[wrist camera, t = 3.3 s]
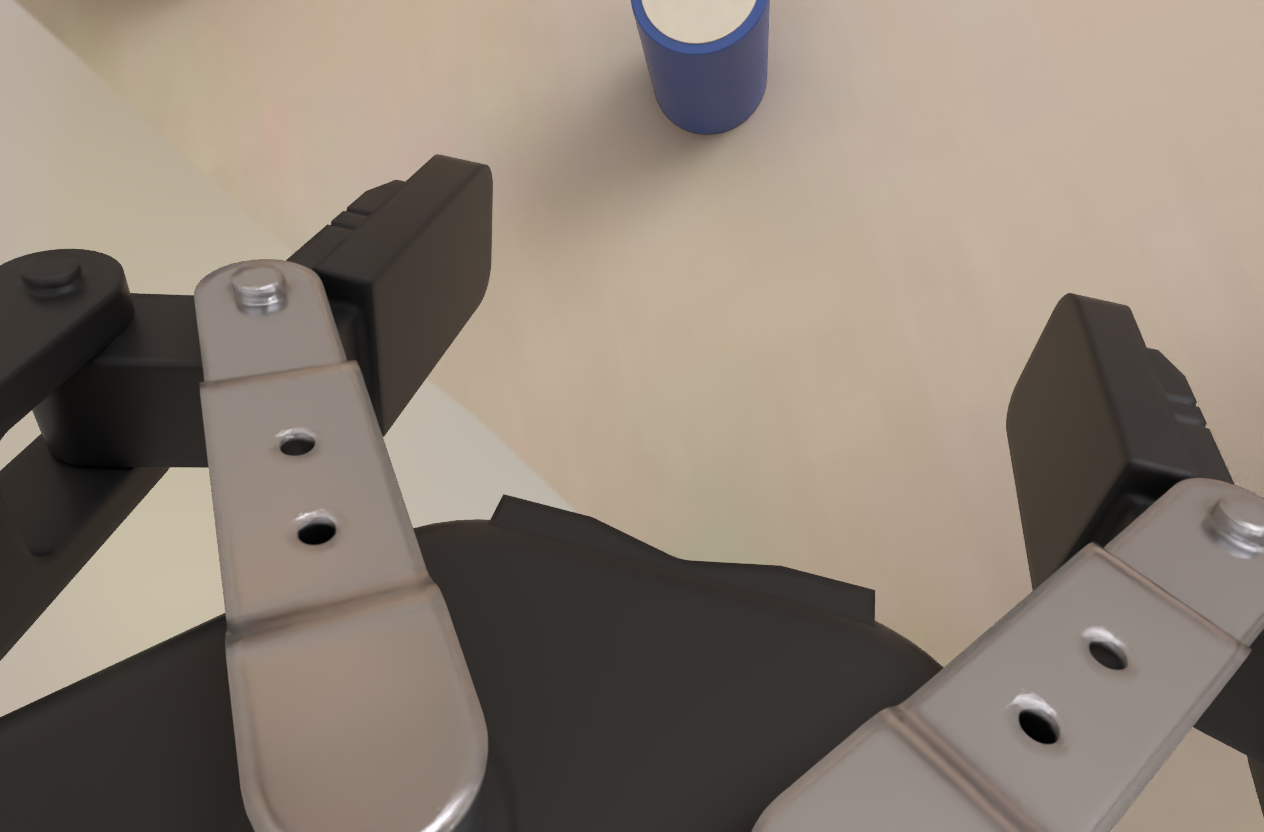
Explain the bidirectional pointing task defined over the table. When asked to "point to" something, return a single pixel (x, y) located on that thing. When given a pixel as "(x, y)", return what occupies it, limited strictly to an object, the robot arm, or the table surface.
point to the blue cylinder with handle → (705, 59)
